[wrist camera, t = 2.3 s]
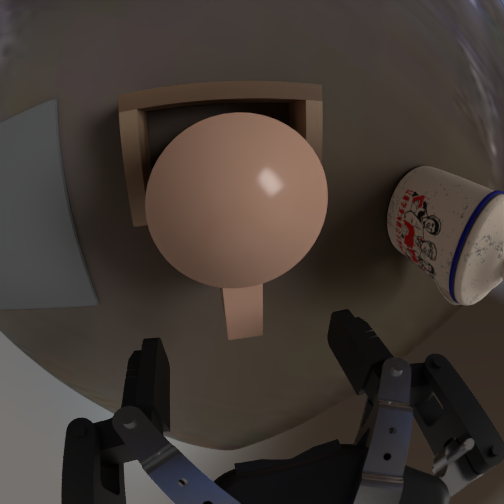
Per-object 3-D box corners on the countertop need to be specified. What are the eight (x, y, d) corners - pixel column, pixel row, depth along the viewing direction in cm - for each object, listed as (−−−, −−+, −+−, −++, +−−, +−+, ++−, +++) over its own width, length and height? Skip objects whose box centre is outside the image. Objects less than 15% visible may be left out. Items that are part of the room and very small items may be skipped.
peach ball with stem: (163, 124, 15) (134, 123, 8) (273, 117, 16) (330, 114, 9) (181, 271, 20) (178, 352, 13) (274, 261, 21) (313, 332, 14)
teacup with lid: (375, 178, 19) (496, 240, 9) (444, 152, 19) (546, 191, 9) (387, 290, 25) (458, 369, 15) (446, 255, 25) (516, 312, 15)
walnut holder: (131, 99, 13) (118, 95, 11) (302, 89, 15) (322, 84, 13) (142, 210, 17) (133, 227, 14) (302, 195, 19) (319, 208, 16)
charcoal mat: (-49, 155, 10) (-52, 155, 9) (57, 99, 12) (54, 98, 12) (-5, 307, 17) (-7, 309, 17) (99, 302, 19) (97, 305, 19)
